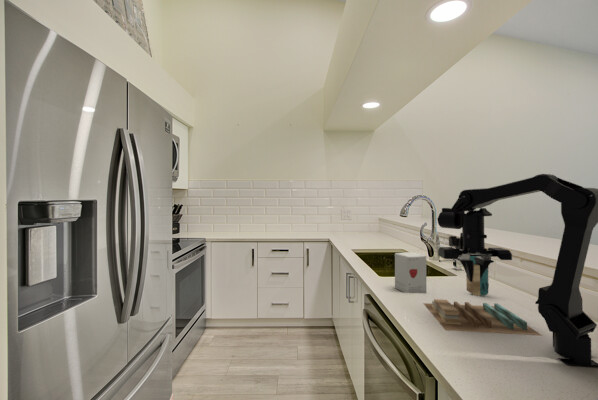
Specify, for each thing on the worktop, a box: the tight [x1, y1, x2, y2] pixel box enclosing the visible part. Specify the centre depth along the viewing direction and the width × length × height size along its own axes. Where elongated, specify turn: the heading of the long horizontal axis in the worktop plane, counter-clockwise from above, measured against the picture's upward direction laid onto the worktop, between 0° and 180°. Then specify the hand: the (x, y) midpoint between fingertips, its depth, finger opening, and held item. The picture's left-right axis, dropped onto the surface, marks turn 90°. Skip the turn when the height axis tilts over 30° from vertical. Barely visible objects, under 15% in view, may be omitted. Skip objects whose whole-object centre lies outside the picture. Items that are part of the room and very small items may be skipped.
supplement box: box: [394, 251, 427, 294], centre depth 112 cm, size 9×9×15 cm
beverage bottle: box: [470, 256, 490, 296], centre depth 105 cm, size 6×7×20 cm
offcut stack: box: [431, 298, 461, 325], centre depth 85 cm, size 12×4×4 cm, turn 172°
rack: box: [423, 301, 543, 336], centre depth 84 cm, size 20×24×3 cm
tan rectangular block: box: [465, 263, 481, 297], centre depth 84 cm, size 5×2×9 cm, turn 172°
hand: (473, 281), depth 84 cm, fingers closed on tan rectangular block, 2 cm apart
